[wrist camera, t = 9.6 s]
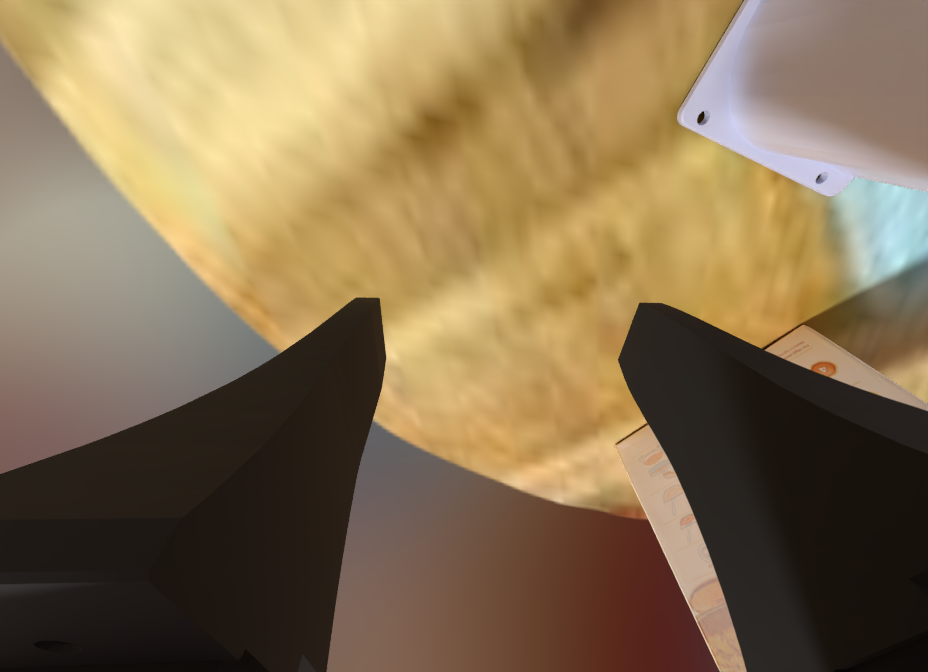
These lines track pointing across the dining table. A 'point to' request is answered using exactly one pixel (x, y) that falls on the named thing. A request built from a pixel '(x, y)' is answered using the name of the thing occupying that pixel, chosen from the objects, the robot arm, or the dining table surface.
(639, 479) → the coffeecake box
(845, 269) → the dining table surface
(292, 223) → the dining table surface
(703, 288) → the dining table surface
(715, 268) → the dining table surface
